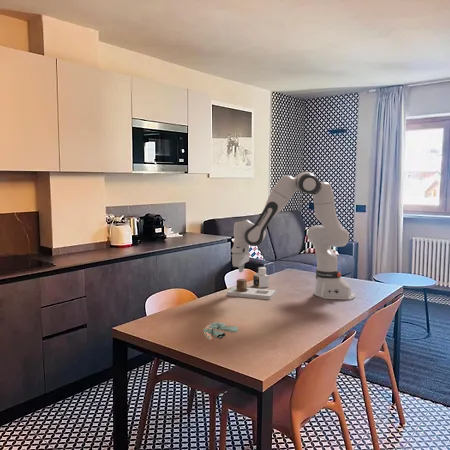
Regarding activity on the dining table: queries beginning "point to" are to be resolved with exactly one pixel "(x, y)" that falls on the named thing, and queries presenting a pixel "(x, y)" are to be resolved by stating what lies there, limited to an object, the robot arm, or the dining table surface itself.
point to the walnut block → (241, 285)
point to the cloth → (221, 327)
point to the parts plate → (252, 293)
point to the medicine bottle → (261, 278)
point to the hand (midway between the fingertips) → (241, 271)
